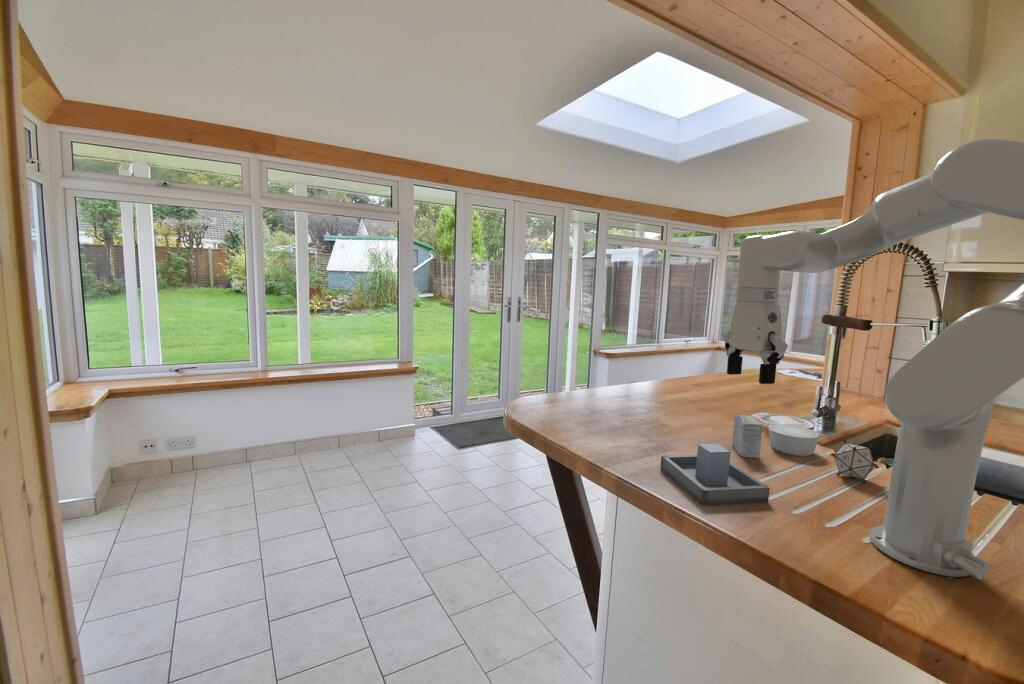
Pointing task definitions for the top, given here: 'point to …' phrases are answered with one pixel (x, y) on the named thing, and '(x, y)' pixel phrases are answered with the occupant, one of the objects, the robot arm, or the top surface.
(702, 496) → the tray
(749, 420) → the medicine box
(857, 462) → the game die
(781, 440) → the ramekin
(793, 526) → the top surface
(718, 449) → the slate block
